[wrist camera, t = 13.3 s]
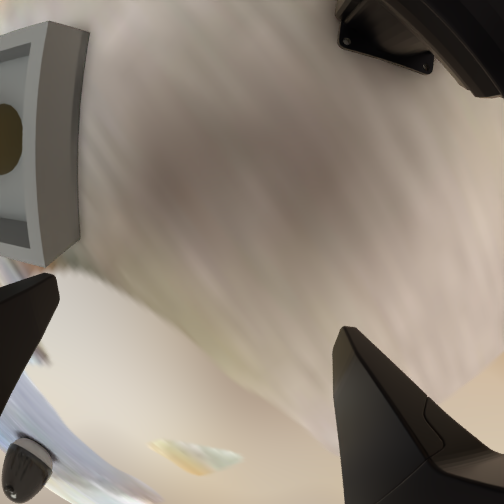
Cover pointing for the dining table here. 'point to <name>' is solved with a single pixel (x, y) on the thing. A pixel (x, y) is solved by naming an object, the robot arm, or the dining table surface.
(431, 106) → the dining table surface
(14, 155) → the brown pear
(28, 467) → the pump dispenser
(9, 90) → the tray
